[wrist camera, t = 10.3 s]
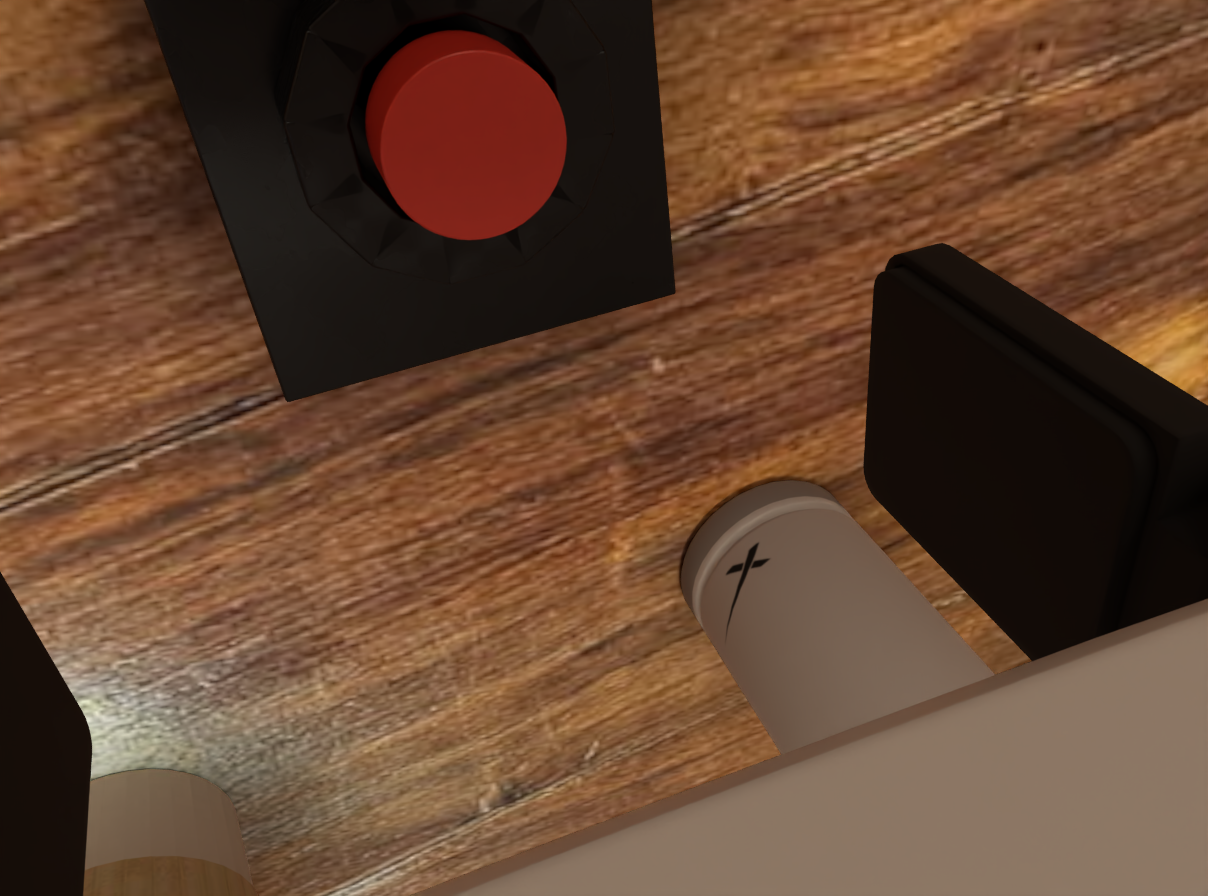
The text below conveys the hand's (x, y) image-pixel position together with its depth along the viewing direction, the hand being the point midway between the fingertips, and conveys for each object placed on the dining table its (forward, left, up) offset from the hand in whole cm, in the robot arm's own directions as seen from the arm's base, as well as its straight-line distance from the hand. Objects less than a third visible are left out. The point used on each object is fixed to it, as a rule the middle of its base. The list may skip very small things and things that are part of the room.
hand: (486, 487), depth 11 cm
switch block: (0, +2, -16) cm, 16 cm away
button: (0, +2, -12) cm, 12 cm away
